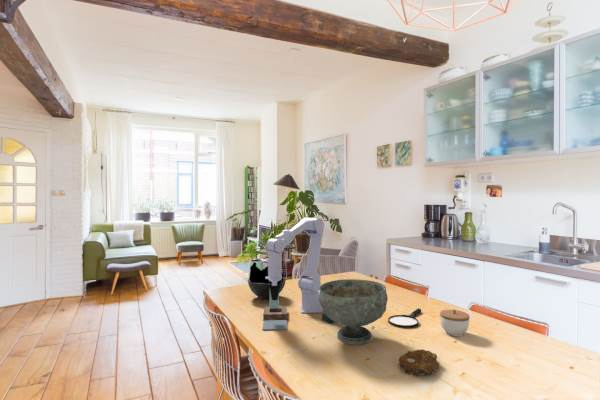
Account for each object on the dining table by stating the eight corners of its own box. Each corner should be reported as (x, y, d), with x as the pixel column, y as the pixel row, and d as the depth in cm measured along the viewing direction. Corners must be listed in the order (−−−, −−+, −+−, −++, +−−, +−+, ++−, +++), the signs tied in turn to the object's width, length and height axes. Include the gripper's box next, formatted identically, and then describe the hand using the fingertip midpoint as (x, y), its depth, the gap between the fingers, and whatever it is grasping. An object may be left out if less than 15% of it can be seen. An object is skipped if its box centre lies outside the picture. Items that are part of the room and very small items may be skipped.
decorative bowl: (343, 359, 118) (343, 299, 118) (306, 332, 141) (306, 282, 141) (402, 343, 130) (402, 289, 130) (360, 321, 153) (360, 275, 153)
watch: (331, 324, 149) (331, 298, 149) (319, 319, 156) (319, 294, 156) (341, 321, 153) (341, 296, 153) (329, 316, 159) (329, 292, 159)
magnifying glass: (432, 315, 161) (432, 311, 161) (411, 332, 143) (411, 327, 143) (406, 310, 169) (406, 305, 169) (383, 325, 151) (383, 320, 151)
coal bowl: (292, 296, 192) (292, 261, 192) (270, 305, 175) (270, 268, 175) (263, 290, 203) (263, 258, 202) (240, 299, 186) (239, 263, 185)
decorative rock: (410, 354, 123) (394, 374, 111) (410, 343, 122) (393, 361, 110) (445, 362, 116) (431, 383, 104) (444, 349, 116) (430, 369, 104)
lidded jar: (467, 330, 143) (467, 307, 143) (471, 340, 133) (471, 315, 133) (439, 326, 147) (439, 304, 147) (440, 336, 137) (440, 312, 137)
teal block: (279, 305, 154) (279, 284, 154) (278, 308, 150) (278, 287, 150) (269, 305, 154) (269, 284, 154) (269, 308, 150) (269, 287, 150)
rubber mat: (286, 321, 154) (286, 319, 154) (287, 329, 144) (287, 328, 144) (263, 321, 153) (263, 320, 153) (262, 330, 143) (262, 329, 143)
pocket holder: (286, 311, 166) (286, 306, 166) (287, 319, 156) (287, 313, 156) (264, 312, 166) (264, 306, 165) (263, 320, 155) (263, 314, 155)
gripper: (266, 263, 159) (266, 293, 159) (264, 270, 144) (264, 303, 144) (282, 263, 159) (282, 293, 159) (281, 270, 144) (281, 303, 145)
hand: (274, 298), depth 152 cm, fingers closed on teal block, 4 cm apart
